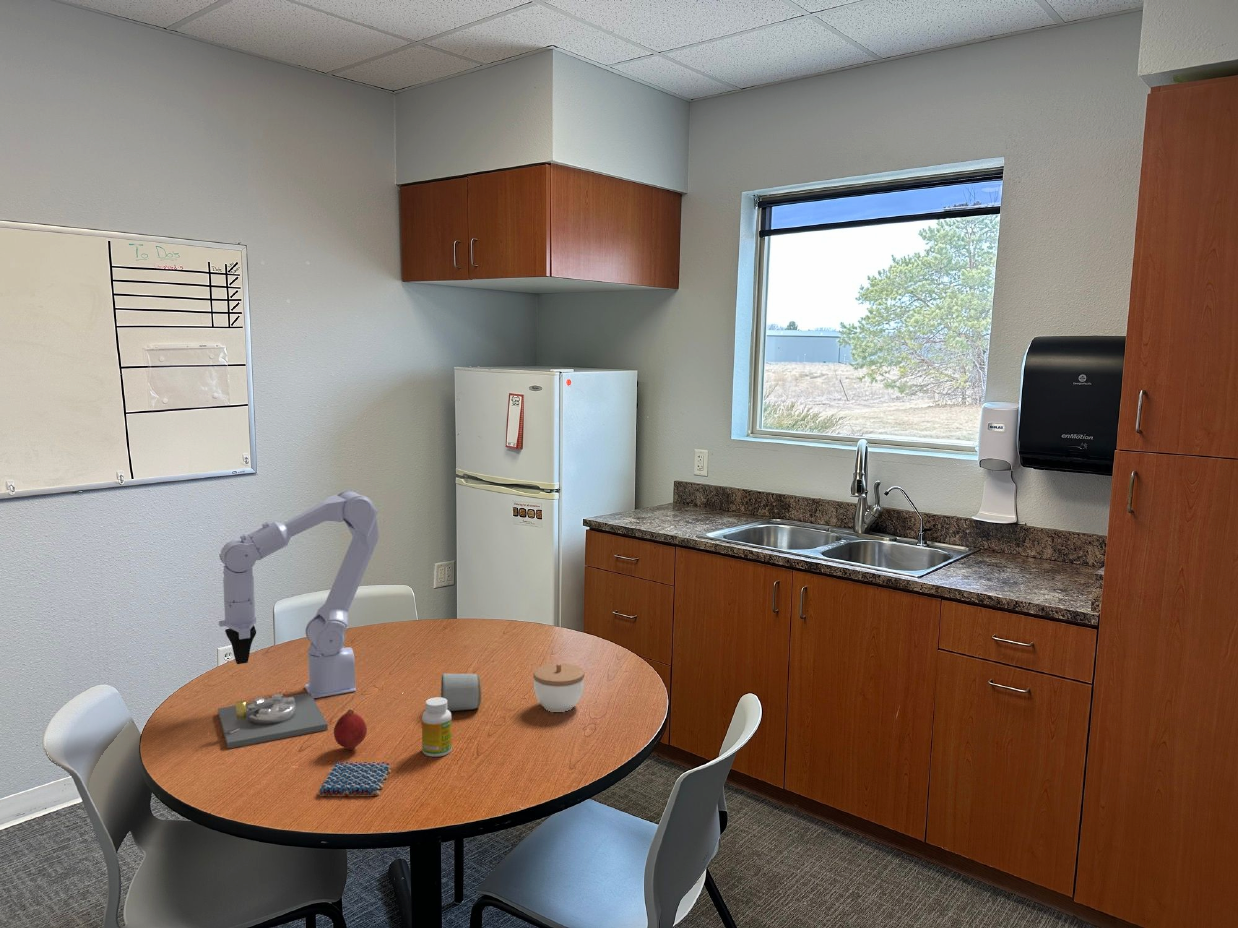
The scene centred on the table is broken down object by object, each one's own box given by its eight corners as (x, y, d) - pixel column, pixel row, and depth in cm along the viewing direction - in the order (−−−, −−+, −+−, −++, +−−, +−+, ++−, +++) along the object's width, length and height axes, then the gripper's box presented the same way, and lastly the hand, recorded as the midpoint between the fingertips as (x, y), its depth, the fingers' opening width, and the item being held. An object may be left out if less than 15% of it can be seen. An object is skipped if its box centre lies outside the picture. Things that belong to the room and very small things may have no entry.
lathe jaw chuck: (274, 703, 180) (273, 679, 180) (305, 711, 176) (304, 687, 175) (222, 725, 169) (221, 699, 169) (254, 734, 165) (253, 708, 165)
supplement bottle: (444, 758, 159) (444, 708, 158) (417, 755, 160) (416, 705, 159) (456, 746, 165) (455, 696, 163) (429, 743, 166) (428, 694, 164)
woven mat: (393, 770, 156) (393, 759, 156) (379, 800, 145) (379, 788, 145) (334, 770, 156) (334, 759, 155) (316, 800, 145) (315, 788, 145)
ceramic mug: (482, 713, 180) (482, 677, 179) (442, 717, 178) (442, 680, 177) (477, 695, 190) (477, 661, 189) (439, 698, 188) (438, 664, 187)
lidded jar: (594, 706, 184) (595, 664, 183) (557, 721, 176) (557, 677, 175) (559, 693, 191) (560, 652, 190) (522, 707, 183) (522, 664, 182)
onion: (337, 759, 159) (336, 717, 158) (332, 746, 164) (330, 705, 163) (369, 752, 161) (369, 711, 160) (363, 740, 166) (362, 700, 165)
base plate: (310, 697, 187) (310, 692, 186) (327, 729, 171) (327, 723, 171) (218, 713, 178) (218, 707, 178) (227, 748, 162) (227, 742, 162)
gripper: (214, 592, 183) (217, 654, 185) (221, 610, 171) (224, 677, 172) (250, 588, 187) (253, 649, 188) (260, 605, 174) (262, 671, 176)
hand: (241, 662), depth 181 cm, fingers closed
